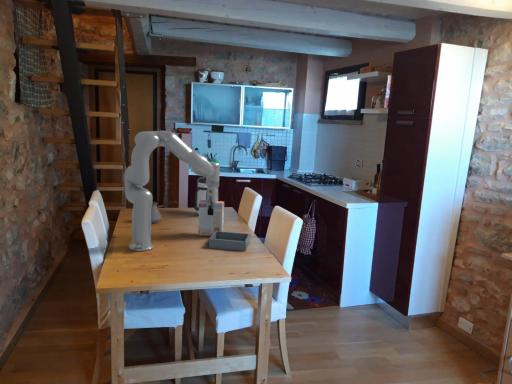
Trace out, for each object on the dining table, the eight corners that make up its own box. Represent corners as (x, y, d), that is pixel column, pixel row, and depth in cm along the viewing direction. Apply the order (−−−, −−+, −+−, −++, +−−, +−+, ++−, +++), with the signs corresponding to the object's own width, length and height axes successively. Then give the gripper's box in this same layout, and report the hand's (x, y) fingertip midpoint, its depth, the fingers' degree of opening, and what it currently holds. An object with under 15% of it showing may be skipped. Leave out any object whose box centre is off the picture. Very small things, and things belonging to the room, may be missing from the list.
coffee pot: (141, 223, 253) (141, 200, 251) (145, 219, 265) (146, 197, 262) (174, 225, 254) (175, 202, 251) (178, 221, 265) (178, 199, 262)
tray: (245, 251, 213) (246, 242, 212) (208, 247, 215) (209, 238, 214) (249, 242, 228) (249, 233, 227) (215, 239, 230) (215, 230, 229)
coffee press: (192, 212, 290) (194, 171, 285) (214, 212, 293) (216, 172, 288) (193, 218, 273) (194, 175, 268) (216, 218, 276) (218, 176, 271)
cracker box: (223, 235, 239) (224, 201, 235) (221, 238, 233) (222, 203, 229) (200, 233, 240) (201, 199, 236) (197, 236, 234) (198, 201, 230)
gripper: (215, 186, 222) (214, 217, 225) (221, 181, 239) (220, 211, 242) (202, 185, 223) (201, 216, 226) (209, 180, 240) (208, 210, 243)
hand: (211, 213), depth 234 cm, fingers closed on cracker box, 6 cm apart
